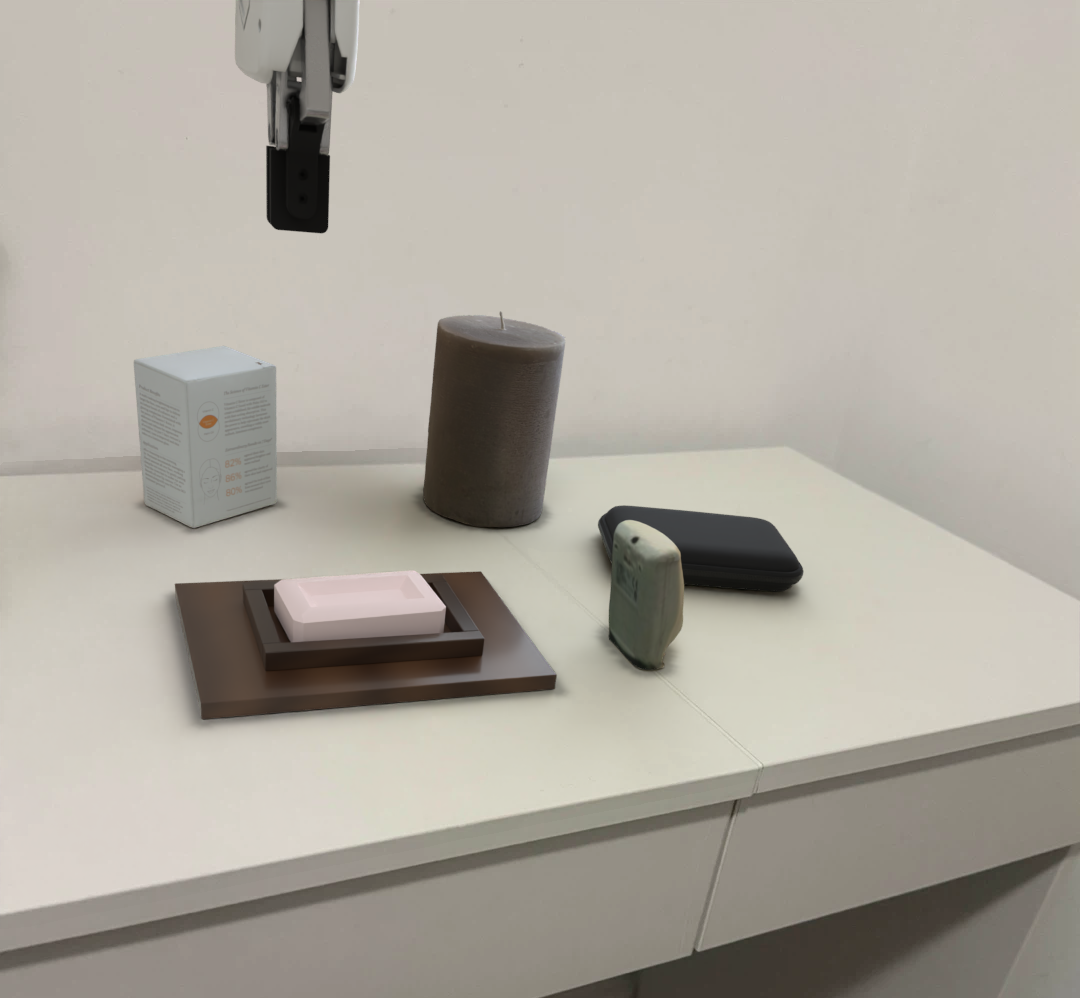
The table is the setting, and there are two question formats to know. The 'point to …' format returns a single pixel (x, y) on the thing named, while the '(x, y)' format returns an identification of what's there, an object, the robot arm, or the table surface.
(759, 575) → the carrying case
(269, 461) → the small box
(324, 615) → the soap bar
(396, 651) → the backing plate
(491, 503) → the pillar candle
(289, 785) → the table surface
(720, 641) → the table surface
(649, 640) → the grey-green rounded block
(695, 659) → the table surface
